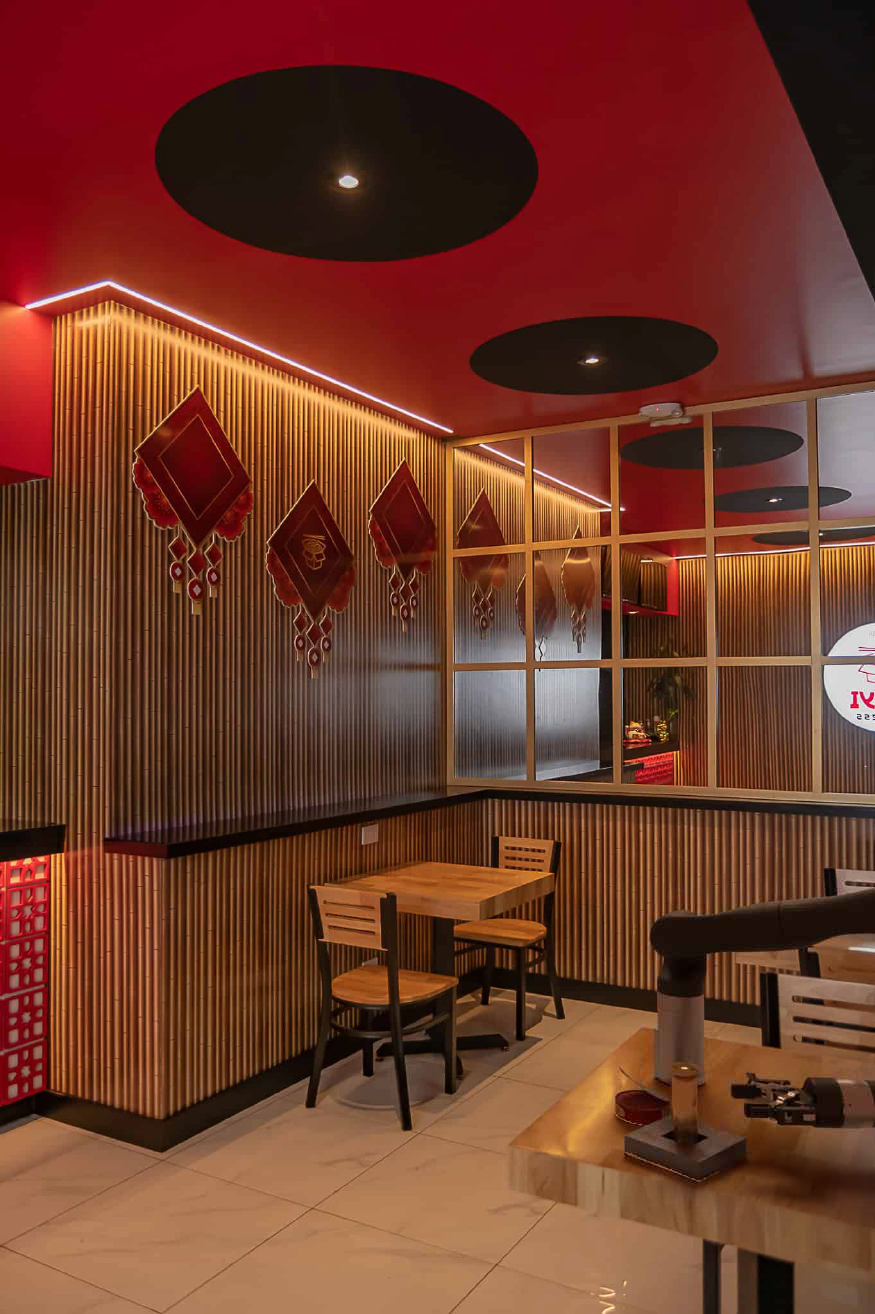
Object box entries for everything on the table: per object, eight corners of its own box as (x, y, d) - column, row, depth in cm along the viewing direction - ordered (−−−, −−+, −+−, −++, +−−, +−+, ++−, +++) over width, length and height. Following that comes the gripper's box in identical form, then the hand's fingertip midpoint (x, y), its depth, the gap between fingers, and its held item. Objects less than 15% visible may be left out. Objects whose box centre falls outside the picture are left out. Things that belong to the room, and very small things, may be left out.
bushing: (664, 1155, 157) (662, 1066, 158) (681, 1147, 160) (679, 1060, 162) (690, 1165, 153) (688, 1074, 155) (707, 1156, 157) (705, 1067, 158)
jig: (624, 1154, 157) (624, 1135, 157) (672, 1132, 166) (672, 1114, 167) (699, 1182, 147) (699, 1162, 147) (746, 1157, 156) (745, 1138, 157)
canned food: (623, 1133, 178) (624, 1075, 183) (677, 1137, 174) (676, 1078, 179) (604, 1121, 170) (606, 1062, 175) (660, 1125, 165) (660, 1064, 171)
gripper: (822, 1065, 164) (726, 1062, 164) (854, 1094, 149) (748, 1091, 150) (824, 1110, 163) (727, 1108, 164) (855, 1144, 149) (749, 1141, 150)
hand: (737, 1100), depth 157 cm, fingers open, 8 cm apart
